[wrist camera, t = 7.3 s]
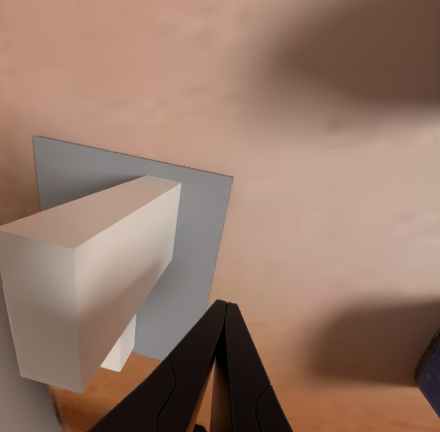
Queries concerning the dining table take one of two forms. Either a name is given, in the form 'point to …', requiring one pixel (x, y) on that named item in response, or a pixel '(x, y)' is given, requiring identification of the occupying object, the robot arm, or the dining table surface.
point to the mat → (184, 235)
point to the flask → (430, 374)
